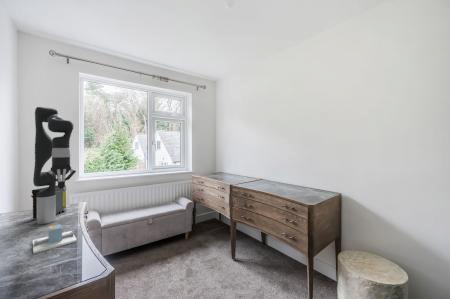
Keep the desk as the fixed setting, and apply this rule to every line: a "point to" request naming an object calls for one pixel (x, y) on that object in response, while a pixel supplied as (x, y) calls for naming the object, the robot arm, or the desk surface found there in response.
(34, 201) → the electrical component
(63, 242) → the rail plate
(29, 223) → the desk surface
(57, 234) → the block
